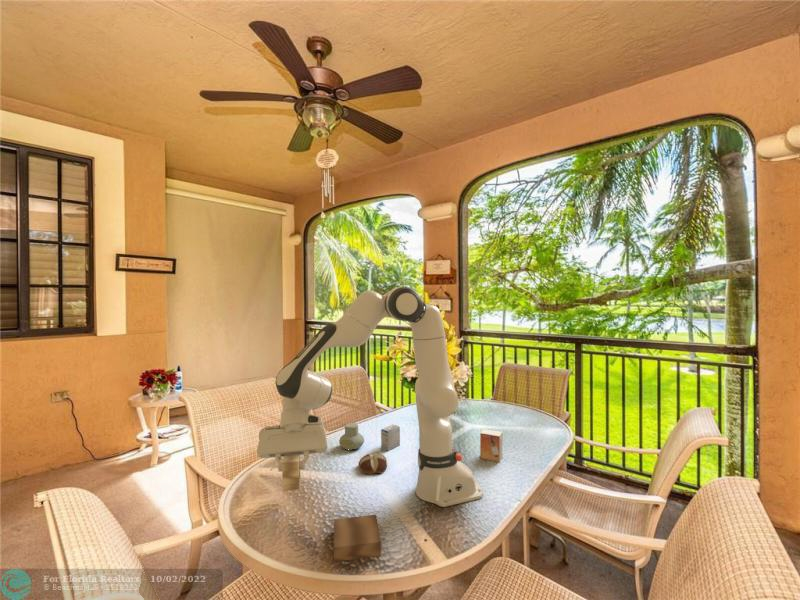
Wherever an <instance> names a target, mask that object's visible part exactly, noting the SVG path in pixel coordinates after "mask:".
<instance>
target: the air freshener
mask: <svg viewBox="0 0 800 600" xmlns="http://www.w3.org/2000/svg"><path fill="white" fill-rule="evenodd" d="M338 443H339V445H340V447H341V448H343V449H344V450H347V449H349V450H348V451H353V450H352V449H355V450H357V449H359V448H361V447H362V446H363V444H364V443H365V437H364V436H363V435H362V434H361V433H359V425H358V424H357V423H355V422H349V423H346V424H345V425H344V434H342V435H341V436H340V438H339V441H338Z"/></svg>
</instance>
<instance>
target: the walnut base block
mask: <svg viewBox="0 0 800 600" xmlns="http://www.w3.org/2000/svg"><path fill="white" fill-rule="evenodd" d="M380 556H382V541H381V536H380V529H379V523H378V518H377V514H369V515H360V516H359V515H358V516H351V517H342V518H334V519H333V562H334V563H336V562H341V561H342V562H343V561H347V560H348V561H349V560H356V559H357V560H358V559H364V558H373V557H380Z"/></svg>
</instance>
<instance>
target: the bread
mask: <svg viewBox="0 0 800 600" xmlns="http://www.w3.org/2000/svg"><path fill="white" fill-rule="evenodd" d="M387 467H388V461H387V457H386V456H385V455H384V454H382V453H379V452H375V453H374V454H373V455H372V454H370V453H367V454H365V455H364V456H363V457H361V458H360V459H359V461H358V468H359V469H360V471H361V473H363V472H364V473H363V474H365V473H367V474H366V475H372V473H379V474H383V473H384V472H385V471H386V469H387ZM382 472H383V473H382Z"/></svg>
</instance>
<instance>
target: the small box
mask: <svg viewBox="0 0 800 600" xmlns="http://www.w3.org/2000/svg"><path fill="white" fill-rule="evenodd" d="M503 433H504V432H503V431H497V430H490V429H485V428H483V430H481V432H480V437H479V439H480V440H479V441H480V442H479V444H480V445H479V446H480V447H479V451H480V453H479V454H480V456H479V458H480V459H482V460H486V461H487V460H488V461H491V462H497V463H500V462H501V460H502V458H503V449H504V448H503V443H504V442H503Z"/></svg>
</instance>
